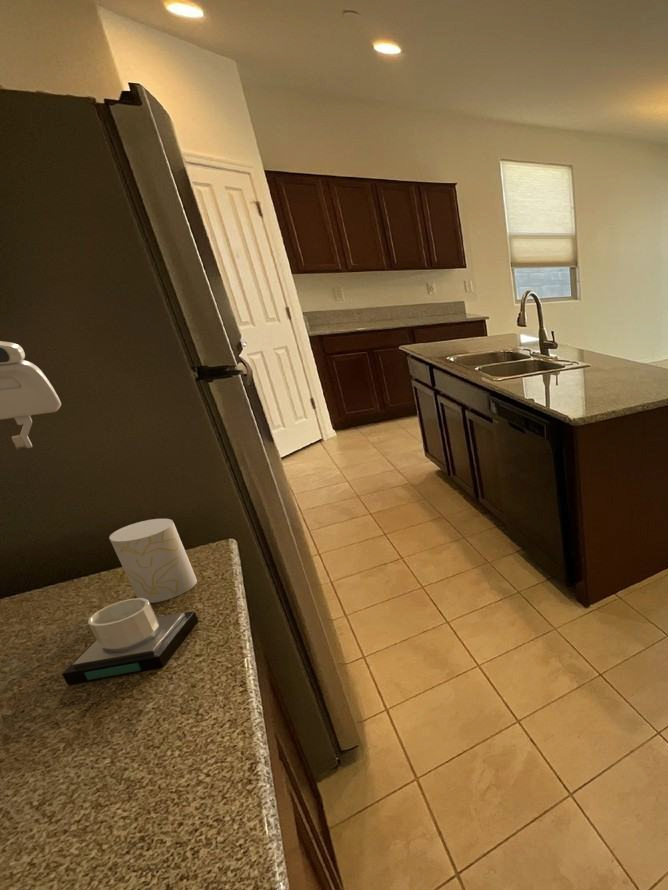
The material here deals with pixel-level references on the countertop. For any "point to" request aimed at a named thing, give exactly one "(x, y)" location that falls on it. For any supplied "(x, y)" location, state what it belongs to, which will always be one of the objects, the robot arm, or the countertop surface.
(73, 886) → the countertop surface
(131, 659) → the scale
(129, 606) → the bowl
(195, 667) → the countertop surface
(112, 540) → the cup
